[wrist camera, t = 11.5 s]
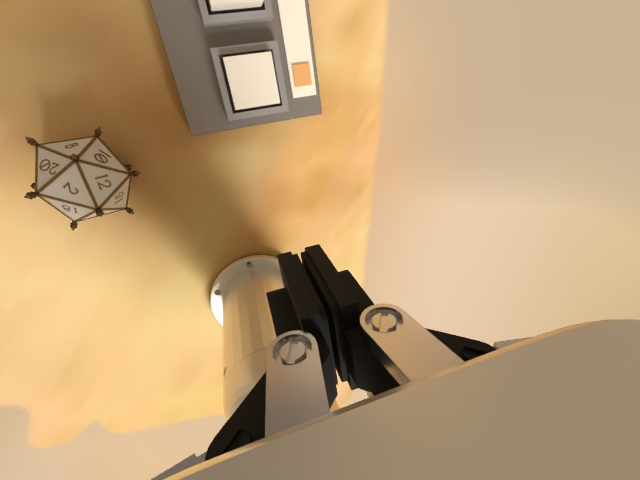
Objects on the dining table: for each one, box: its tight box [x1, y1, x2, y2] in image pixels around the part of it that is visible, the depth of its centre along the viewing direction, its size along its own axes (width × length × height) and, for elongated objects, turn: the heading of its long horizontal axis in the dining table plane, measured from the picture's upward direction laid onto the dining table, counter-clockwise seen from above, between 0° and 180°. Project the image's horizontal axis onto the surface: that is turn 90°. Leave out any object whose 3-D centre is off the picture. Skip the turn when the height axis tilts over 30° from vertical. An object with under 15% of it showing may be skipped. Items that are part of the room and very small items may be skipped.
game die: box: [24, 127, 140, 230], centre depth 28 cm, size 9×8×10 cm
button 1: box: [223, 51, 280, 110], centre depth 30 cm, size 4×4×2 cm
